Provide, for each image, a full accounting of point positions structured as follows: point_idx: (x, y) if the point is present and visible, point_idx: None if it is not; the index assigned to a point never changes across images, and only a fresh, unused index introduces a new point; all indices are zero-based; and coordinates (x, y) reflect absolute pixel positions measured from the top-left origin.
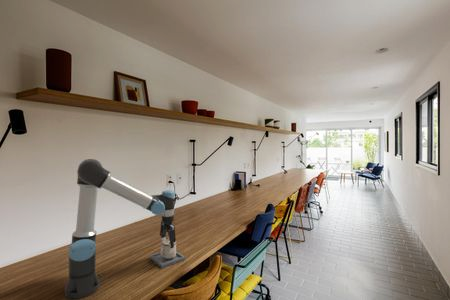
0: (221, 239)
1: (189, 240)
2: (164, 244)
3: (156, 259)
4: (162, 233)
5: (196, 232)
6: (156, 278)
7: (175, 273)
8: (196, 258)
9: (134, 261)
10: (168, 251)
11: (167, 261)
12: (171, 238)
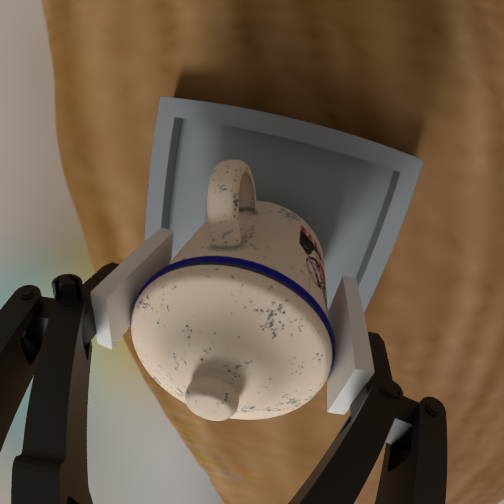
0: (213, 482)
1: None
2: (207, 265)
3: (291, 129)
4: (357, 450)
5: None
6: (102, 5)
7: (62, 128)
8: (126, 338)
9: (465, 49)
10: (186, 243)
11: None
12: (3, 333)
